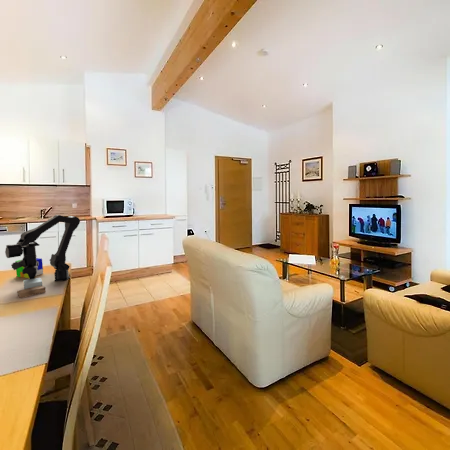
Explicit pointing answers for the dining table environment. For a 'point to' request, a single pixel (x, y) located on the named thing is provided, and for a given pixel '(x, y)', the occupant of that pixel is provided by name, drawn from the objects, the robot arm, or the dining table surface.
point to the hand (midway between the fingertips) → (32, 281)
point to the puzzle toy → (20, 274)
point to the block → (32, 283)
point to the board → (31, 291)
